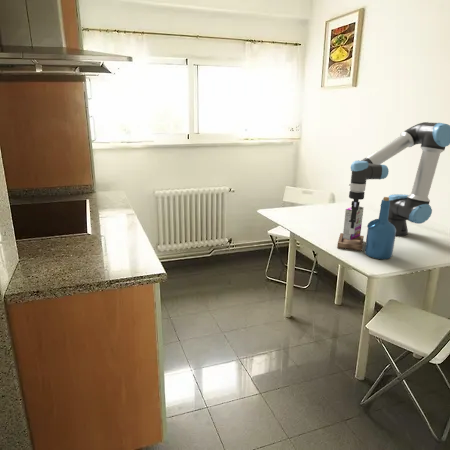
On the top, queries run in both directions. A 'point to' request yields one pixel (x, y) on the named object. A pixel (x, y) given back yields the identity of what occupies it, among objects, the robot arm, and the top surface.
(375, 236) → the wine bottle
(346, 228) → the candy bar box
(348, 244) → the tray
